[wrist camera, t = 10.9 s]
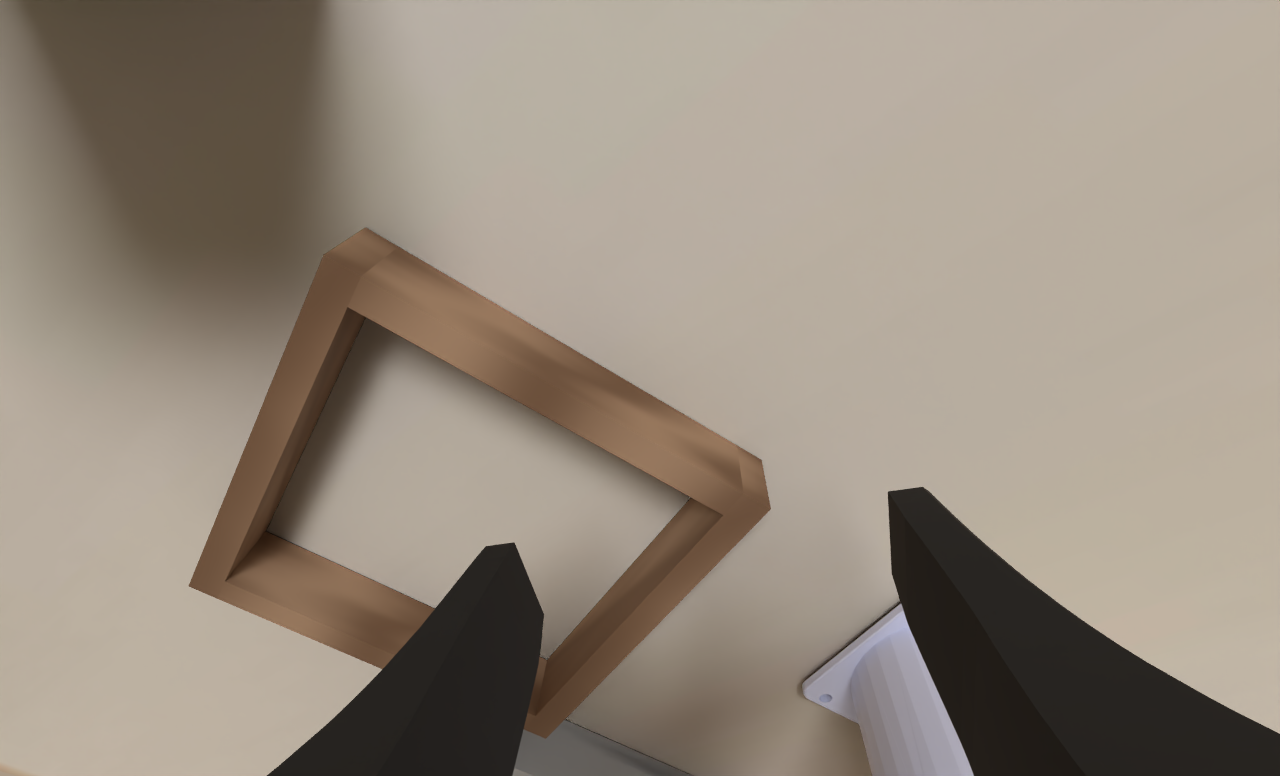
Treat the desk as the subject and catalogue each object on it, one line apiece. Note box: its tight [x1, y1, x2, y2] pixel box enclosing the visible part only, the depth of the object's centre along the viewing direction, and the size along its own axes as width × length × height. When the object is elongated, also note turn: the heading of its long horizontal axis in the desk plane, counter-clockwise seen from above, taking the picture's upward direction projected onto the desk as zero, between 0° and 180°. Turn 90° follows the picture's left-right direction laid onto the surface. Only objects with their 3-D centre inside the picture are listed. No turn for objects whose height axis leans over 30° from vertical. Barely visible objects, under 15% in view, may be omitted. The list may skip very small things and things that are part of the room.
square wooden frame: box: [189, 228, 771, 739], centre depth 22 cm, size 14×14×2 cm
